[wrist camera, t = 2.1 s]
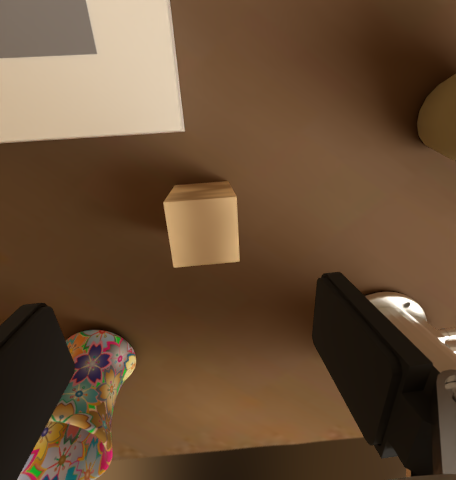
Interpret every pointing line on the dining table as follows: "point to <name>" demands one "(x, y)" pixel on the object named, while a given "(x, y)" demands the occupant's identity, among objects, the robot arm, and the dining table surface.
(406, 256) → the dining table surface
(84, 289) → the dining table surface
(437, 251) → the dining table surface
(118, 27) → the base board
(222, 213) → the maple block
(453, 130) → the squeeze bottle
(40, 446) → the mug
